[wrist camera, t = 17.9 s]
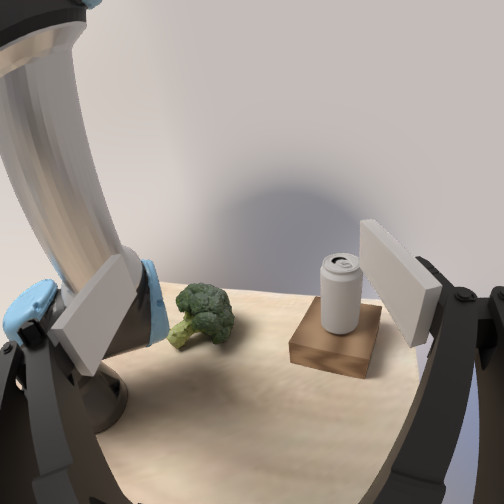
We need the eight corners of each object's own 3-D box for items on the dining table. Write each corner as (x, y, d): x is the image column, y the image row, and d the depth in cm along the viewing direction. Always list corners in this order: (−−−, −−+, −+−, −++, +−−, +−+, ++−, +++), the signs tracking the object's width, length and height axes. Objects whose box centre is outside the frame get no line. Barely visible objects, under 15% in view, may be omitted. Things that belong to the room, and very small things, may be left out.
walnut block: (290, 362, 44) (288, 342, 42) (316, 316, 54) (315, 296, 52) (364, 379, 37) (368, 359, 35) (378, 326, 47) (382, 306, 45)
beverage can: (345, 308, 47) (347, 247, 42) (365, 328, 41) (372, 264, 36) (314, 320, 46) (312, 258, 40) (332, 342, 40) (335, 277, 35)
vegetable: (162, 316, 57) (212, 271, 58) (199, 361, 55) (252, 318, 56) (138, 319, 45) (199, 264, 47) (183, 375, 43) (248, 323, 45)
